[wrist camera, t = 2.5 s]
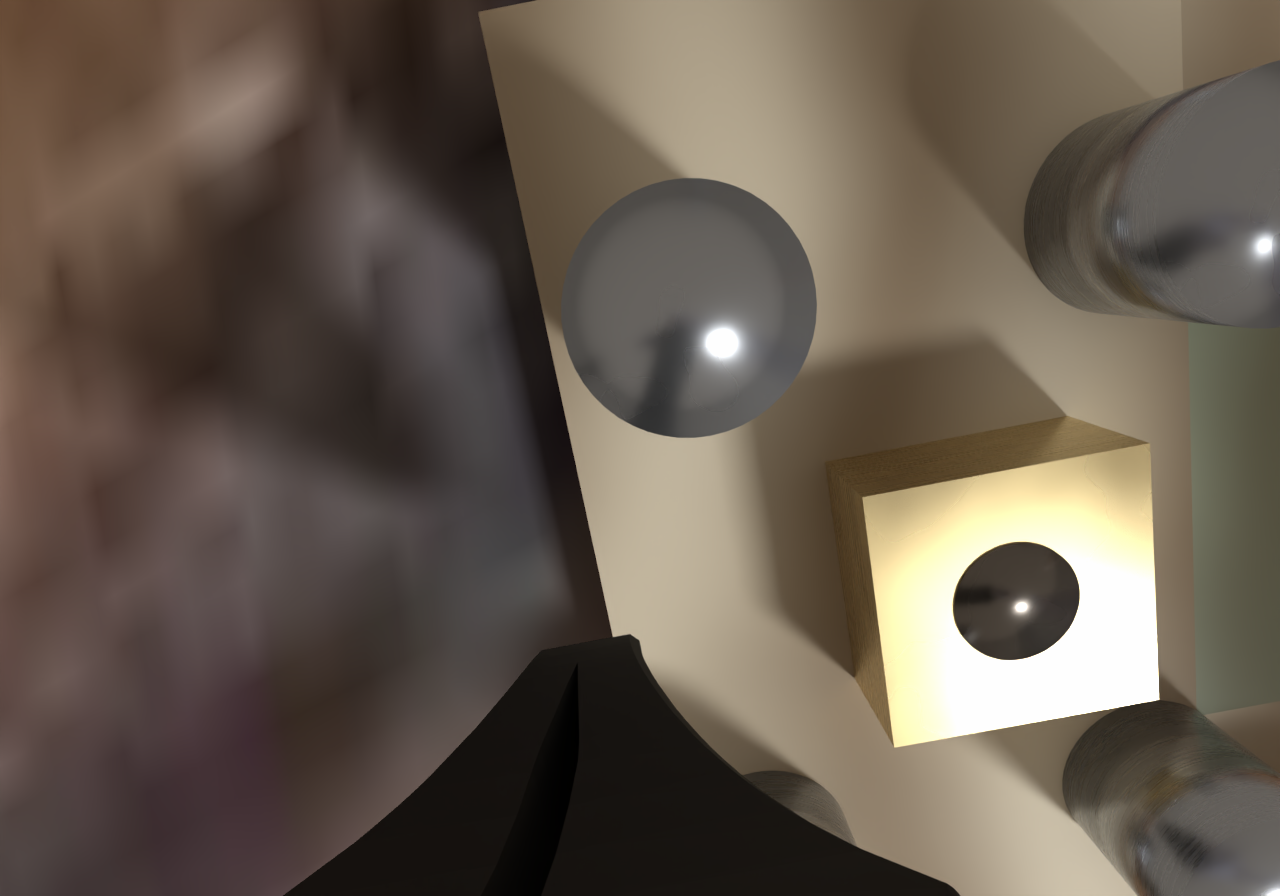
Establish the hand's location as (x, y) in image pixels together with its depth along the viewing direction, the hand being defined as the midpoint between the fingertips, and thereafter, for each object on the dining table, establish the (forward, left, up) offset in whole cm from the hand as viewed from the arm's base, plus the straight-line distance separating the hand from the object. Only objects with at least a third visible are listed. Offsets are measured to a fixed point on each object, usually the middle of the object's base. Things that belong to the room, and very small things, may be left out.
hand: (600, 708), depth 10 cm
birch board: (-7, 0, -4) cm, 8 cm away
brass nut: (-6, 0, -3) cm, 7 cm away
